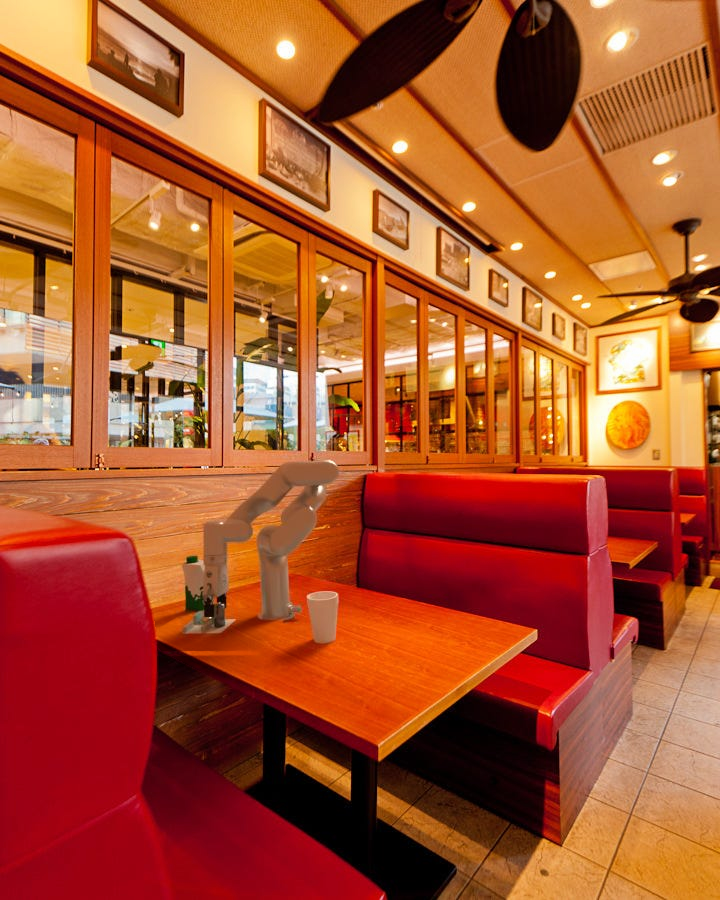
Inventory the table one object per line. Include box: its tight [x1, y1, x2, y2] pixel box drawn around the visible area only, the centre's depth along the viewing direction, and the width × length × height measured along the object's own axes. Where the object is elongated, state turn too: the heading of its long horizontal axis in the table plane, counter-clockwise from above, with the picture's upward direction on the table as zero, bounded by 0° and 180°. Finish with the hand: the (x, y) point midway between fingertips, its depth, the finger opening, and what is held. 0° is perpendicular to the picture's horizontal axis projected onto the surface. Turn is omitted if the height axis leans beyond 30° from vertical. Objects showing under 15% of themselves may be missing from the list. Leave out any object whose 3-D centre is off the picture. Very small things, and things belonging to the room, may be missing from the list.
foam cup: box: [306, 590, 340, 644], centre depth 147 cm, size 10×9×13 cm
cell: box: [213, 602, 226, 628], centre depth 161 cm, size 4×4×8 cm
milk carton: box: [181, 555, 211, 612], centre depth 183 cm, size 9×9×20 cm
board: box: [180, 610, 236, 635], centre depth 161 cm, size 13×13×4 cm
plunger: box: [201, 615, 211, 622], centre depth 166 cm, size 4×4×1 cm
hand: (215, 612), depth 160 cm, fingers open, 9 cm apart
